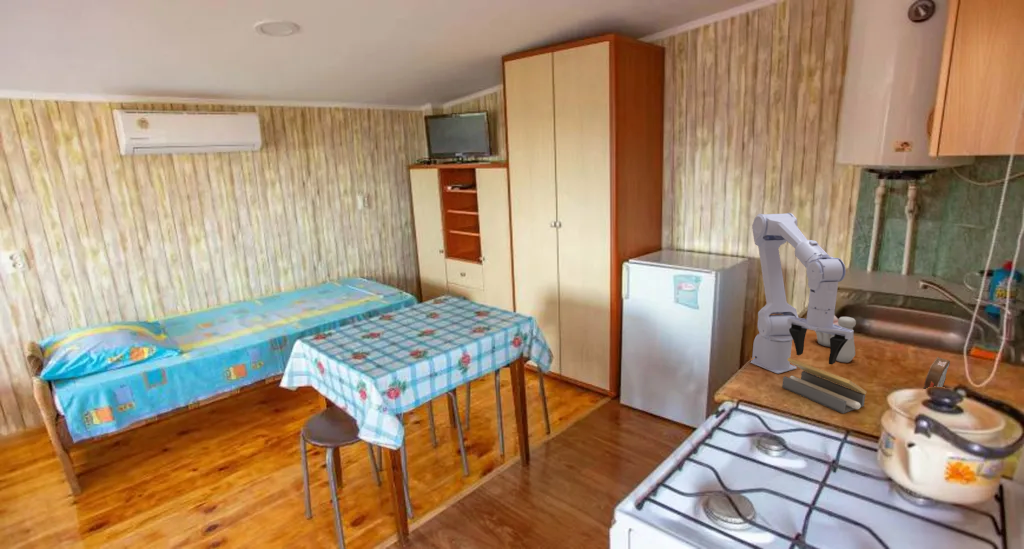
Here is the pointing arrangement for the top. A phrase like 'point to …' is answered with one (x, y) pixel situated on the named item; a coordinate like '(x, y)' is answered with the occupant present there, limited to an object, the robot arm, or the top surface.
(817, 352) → the top surface
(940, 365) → the tin
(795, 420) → the top surface
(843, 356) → the salt shaker
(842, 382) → the duct cover
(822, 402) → the cable duct
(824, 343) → the cupcake
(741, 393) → the top surface
